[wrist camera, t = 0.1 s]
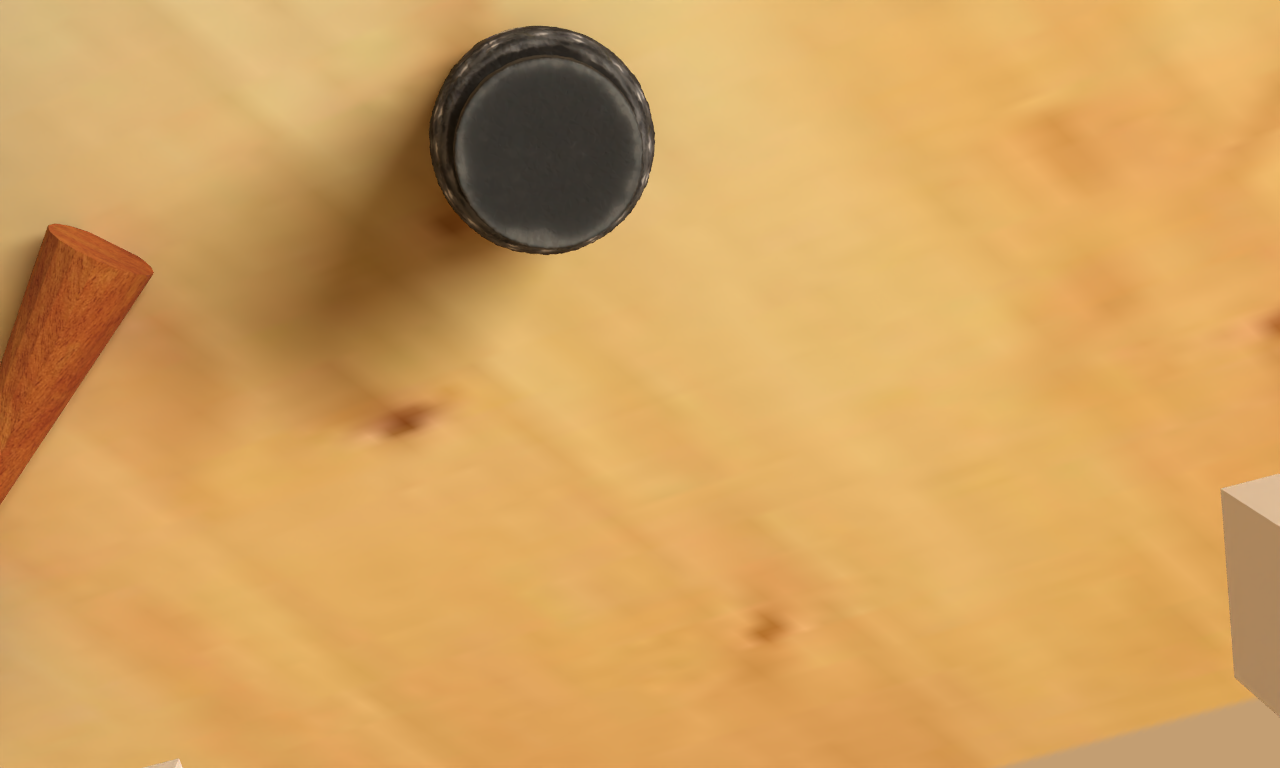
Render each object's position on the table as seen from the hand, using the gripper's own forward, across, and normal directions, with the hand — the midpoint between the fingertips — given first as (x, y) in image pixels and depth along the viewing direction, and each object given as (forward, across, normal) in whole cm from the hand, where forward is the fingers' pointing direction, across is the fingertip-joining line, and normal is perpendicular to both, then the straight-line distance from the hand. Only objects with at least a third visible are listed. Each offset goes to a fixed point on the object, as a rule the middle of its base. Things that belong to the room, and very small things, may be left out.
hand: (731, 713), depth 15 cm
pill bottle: (+28, 0, +5) cm, 29 cm away
